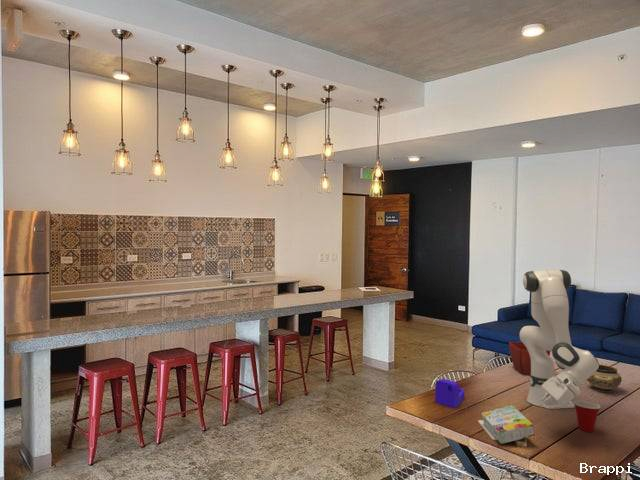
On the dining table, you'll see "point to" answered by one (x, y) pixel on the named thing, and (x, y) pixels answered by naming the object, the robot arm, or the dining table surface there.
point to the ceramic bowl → (605, 378)
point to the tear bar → (521, 442)
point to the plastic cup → (586, 415)
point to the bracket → (448, 393)
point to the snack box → (508, 424)
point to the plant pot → (521, 357)
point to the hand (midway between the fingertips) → (543, 402)
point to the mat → (487, 430)
